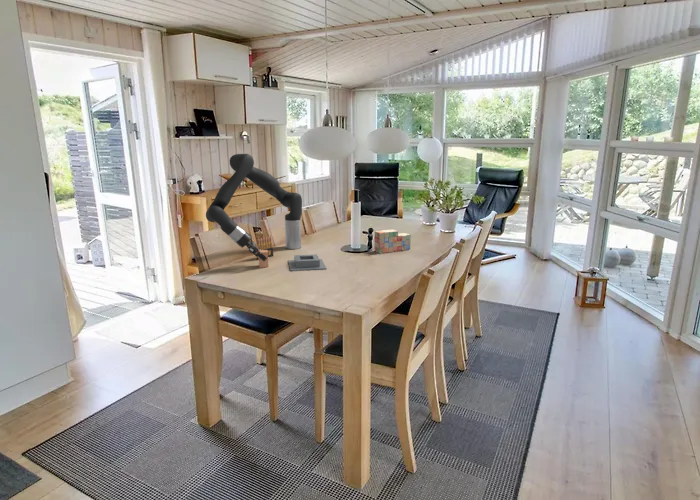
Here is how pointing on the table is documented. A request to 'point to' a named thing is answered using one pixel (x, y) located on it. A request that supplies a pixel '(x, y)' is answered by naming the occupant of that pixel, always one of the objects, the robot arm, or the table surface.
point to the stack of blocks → (391, 241)
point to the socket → (306, 263)
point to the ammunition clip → (266, 245)
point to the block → (261, 262)
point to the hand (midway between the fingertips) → (265, 258)
